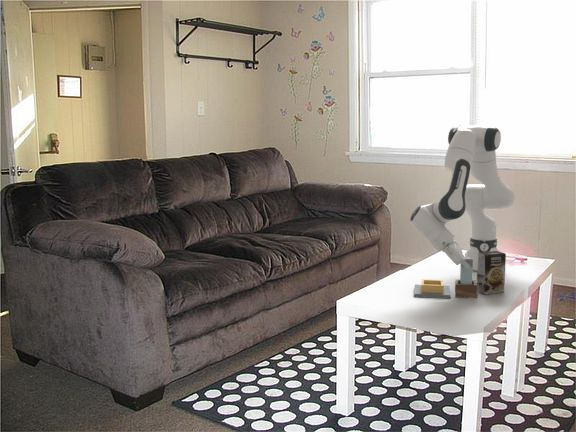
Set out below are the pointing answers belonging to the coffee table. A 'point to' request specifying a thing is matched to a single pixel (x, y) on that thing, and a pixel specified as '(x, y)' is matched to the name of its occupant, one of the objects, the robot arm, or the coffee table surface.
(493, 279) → the coffee box
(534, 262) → the coffee table surface
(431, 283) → the dock
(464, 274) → the plug
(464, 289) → the box
